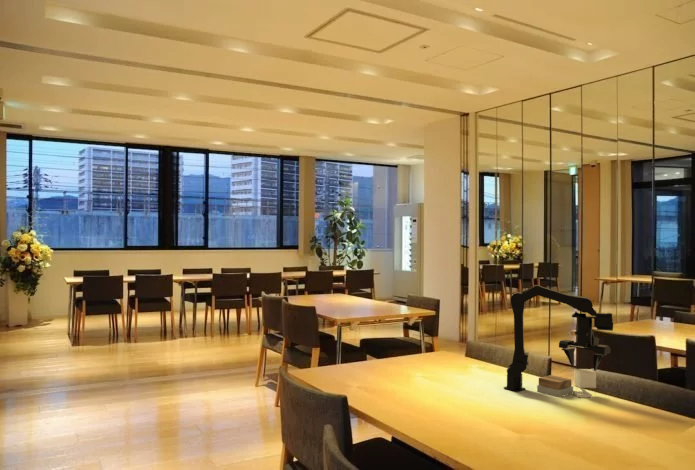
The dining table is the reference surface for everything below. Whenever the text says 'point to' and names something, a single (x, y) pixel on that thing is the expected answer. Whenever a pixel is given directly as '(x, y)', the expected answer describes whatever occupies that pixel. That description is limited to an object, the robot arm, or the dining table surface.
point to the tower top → (555, 382)
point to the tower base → (554, 391)
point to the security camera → (584, 381)
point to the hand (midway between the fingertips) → (583, 368)
